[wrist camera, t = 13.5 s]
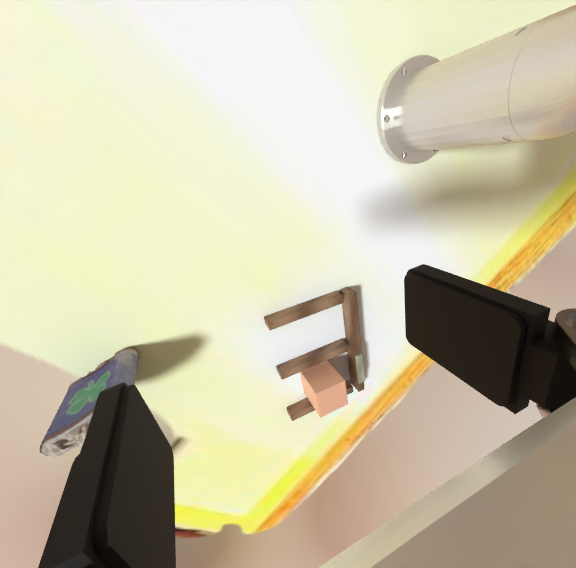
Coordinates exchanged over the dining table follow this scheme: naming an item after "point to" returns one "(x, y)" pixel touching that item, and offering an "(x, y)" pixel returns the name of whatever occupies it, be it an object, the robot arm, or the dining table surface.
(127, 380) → the dark blue pouch
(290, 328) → the dining table surface
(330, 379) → the block
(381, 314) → the dining table surface
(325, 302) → the comb rack
